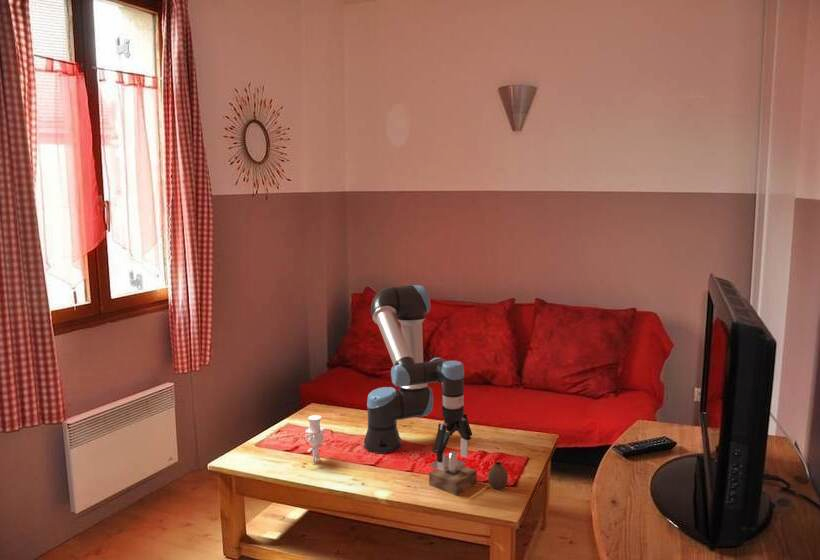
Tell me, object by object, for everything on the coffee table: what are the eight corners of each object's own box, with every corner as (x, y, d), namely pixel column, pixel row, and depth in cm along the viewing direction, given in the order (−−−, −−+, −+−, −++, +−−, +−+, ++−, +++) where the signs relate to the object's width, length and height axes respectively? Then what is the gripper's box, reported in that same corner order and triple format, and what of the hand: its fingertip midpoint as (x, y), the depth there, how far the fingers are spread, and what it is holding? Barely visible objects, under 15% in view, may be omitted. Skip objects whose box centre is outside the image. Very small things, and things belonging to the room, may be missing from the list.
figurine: (314, 454, 257) (313, 411, 254) (331, 458, 254) (330, 414, 251) (300, 466, 247) (298, 420, 244) (317, 469, 244) (316, 423, 241)
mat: (429, 465, 246) (429, 464, 246) (445, 456, 253) (445, 456, 253) (450, 473, 240) (450, 472, 239) (466, 464, 247) (466, 463, 247)
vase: (486, 482, 232) (486, 459, 231) (505, 481, 233) (505, 458, 232) (490, 491, 226) (490, 468, 224) (509, 490, 226) (510, 467, 225)
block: (429, 486, 230) (429, 472, 229) (449, 474, 239) (449, 461, 238) (456, 496, 222) (456, 483, 222) (476, 483, 232) (476, 470, 231)
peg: (447, 485, 231) (447, 453, 229) (452, 482, 233) (452, 450, 231) (453, 487, 229) (453, 455, 227) (458, 484, 231) (459, 452, 229)
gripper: (439, 418, 214) (439, 479, 218) (482, 398, 233) (481, 454, 236) (421, 413, 219) (422, 472, 222) (464, 393, 238) (464, 448, 241)
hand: (452, 463), depth 229 cm, fingers open, 13 cm apart
